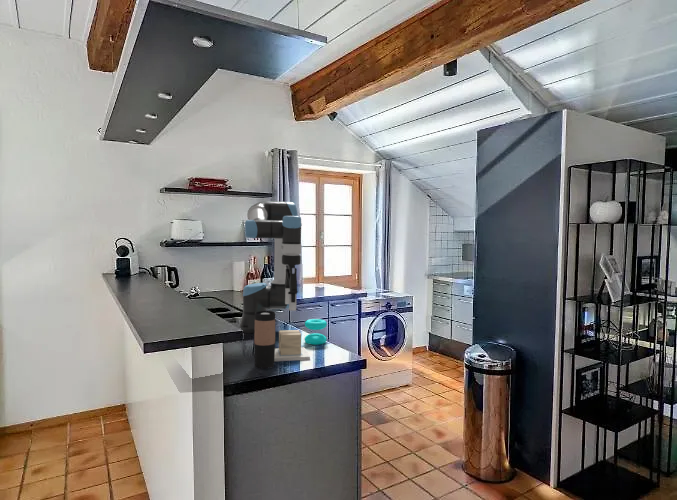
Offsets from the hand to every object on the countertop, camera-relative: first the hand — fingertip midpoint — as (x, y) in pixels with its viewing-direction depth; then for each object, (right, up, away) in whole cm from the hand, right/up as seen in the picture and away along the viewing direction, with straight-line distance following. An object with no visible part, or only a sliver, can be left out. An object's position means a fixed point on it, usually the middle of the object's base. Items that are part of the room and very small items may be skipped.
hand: (290, 307), depth 178 cm
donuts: (+9, -19, +22) cm, 31 cm away
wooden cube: (0, -18, 0) cm, 18 cm away
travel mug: (-8, -20, -14) cm, 26 cm away
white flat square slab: (0, -20, 0) cm, 20 cm away
